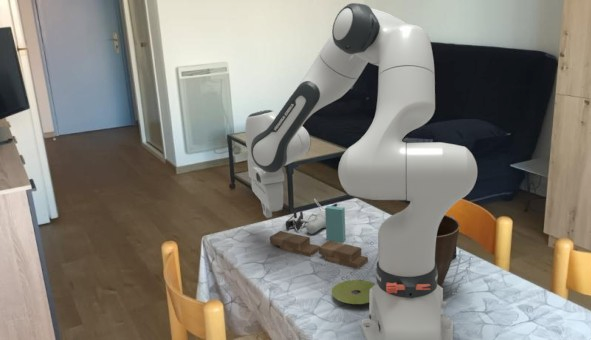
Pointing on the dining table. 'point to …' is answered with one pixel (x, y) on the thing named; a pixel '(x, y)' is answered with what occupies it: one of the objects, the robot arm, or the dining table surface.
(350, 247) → the walnut tile
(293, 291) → the dining table surface
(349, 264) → the walnut tile
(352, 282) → the green disc
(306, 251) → the walnut tile
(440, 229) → the plant pot
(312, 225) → the clip-on lamp
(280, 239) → the walnut tile
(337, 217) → the teal tile
